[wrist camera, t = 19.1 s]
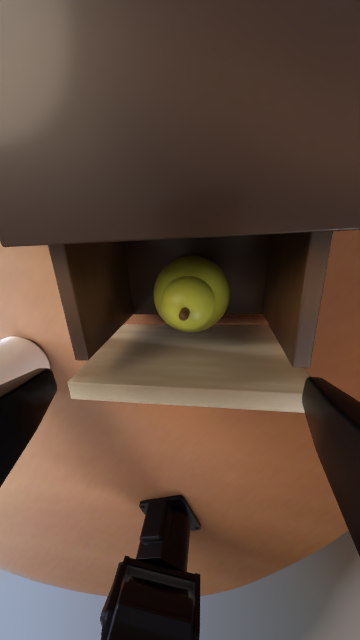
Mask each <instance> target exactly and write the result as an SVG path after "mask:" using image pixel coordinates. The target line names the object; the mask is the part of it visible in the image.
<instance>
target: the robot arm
mask: <svg viewBox="0 0 360 640" xmlns="http://www.w3.org/2000/svg"><path fill="white" fill-rule="evenodd" d="M56 391H57V384H56V381H55V378H54V375H53V372H52V370H51V369H49V368H38V369H35V370H33V371H31V372H28V373H26V374H24V375H22V376H19V377H17V378H15V379H12V380H10V381H8V382H6V383H3V384H1V385H0V487H1V485H2V484H3V482H4V481H5V479H6V477H7V476H8V474H9V473H10V471H11V470H12V468H13V466H14V465H15V463H16V462H17V460H18V459H19V457H20V455H21V454H22V452H23V451H24V449H25V448H26V446H27V444H28V443H29V441H30V440H31V438H32V437H33V435H34V433H35V432H36V430H37V428H38V426H39V424H40V423H41V421H42V419H43V417H44V415H45V413H46V411H47V409H48V407H49V405H50V403H51V401H52V399H53V397H54V395H55V394H56ZM302 404H303V408H304V411H305V415H306V418H307V422H308V425H309V428H310V432H311V435H312V439H313V442H314V445H315V448H316V451H317V454H318V457H319V459H320V462H321V464H322V466H323V469H324V471H325V474H326V476H327V478H328V481H329V483H330V486H331V488H332V491H333V493H334V495H335V498H336V500H337V503H338V505H339V508H340V510H341V512H342V515H343V517H344V520H345V522H346V524H347V527H348V529H349V532H350V534H351V537H352V539H353V541H354V544H355V546H356V549H357V551H358V554H359V556H360V402H359V401H357V400H356V399H354V398H353V397H351V396H349V395H348V394H346V393H345V392H343V391H342V390H340V389H338V388H337V387H335V386H334V385H332V384H330V383H329V382H327V381H326V380H324V379H322V378H320V377H308V378H306V380H305V384H304V389H303V394H302ZM139 507H140V508H141V510H142V511H143V512H144V514H145V520H144V524H143V528H142V532H141V536H140V544H139V548H138V553H137V557H136V559H132V558H130V557H129V556H125V558H124V561H123V562H120V563H119V565H118V569H117V572H116V575H115V579H114V582H113V585H112V587H111V590H110V592H109V595H108V597H107V600H106V603H105V605H104V608H103V610H102V613H101V617H100V621H101V625H102V633H101V636H102V637H101V640H199V633H200V574H197V573H195V574H192V573H188V572H187V562H188V550H189V538H190V531H196V530H200V529H201V524H200V523H199V521H198V519H197V518H196V516H195V515H194V513H193V511H192V510H191V508H190V507H189V505H188V503H187V502H186V500H185V499H184V497H183V496H181V495H177V496H170V497H164V498H158V499H151V500H145V501H141V502H140V505H139Z"/></svg>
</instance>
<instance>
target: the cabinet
mask: <svg viewBox="0 0 360 640" xmlns="http://www.w3.org/2000/svg"><path fill="white" fill-rule="evenodd" d="M347 230H360V0H0V241H1V245H2V246H3V247H17V246H38V245H58V244H79V243H100V242H120V241H141V240H161V239H182V238H202V237H223V236H244V235H264V234H285V233H305V232H326V231H347Z"/></svg>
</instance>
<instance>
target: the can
mask: <svg viewBox="0 0 360 640" xmlns="http://www.w3.org/2000/svg"><path fill="white" fill-rule="evenodd" d="M38 368H49V369H50V362H49V359H48V357H47V355H46V354H45V352H44V351H43V350H42V349H41V348H40V347H39V346H38V345H37V344H35V343H34V342H32V341H30V340H28V339H25V338H21V337H7V338H4V339H2V340H0V385H1V384H3V383H6V382H8V381H10V380H12V379H15V378H17V377H19V376H22V375H24V374H26V373H28V372H31V371H33V370H35V369H38Z"/></svg>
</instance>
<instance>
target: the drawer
mask: <svg viewBox="0 0 360 640" xmlns="http://www.w3.org/2000/svg"><path fill="white" fill-rule="evenodd" d="M332 234H333V231H326V232H305V233H285V234H264V235H244V236H223V237H202V238H182V239H161V240H141V241H120V242H100V243H79V244H58V245H48V247H49V251H50V255H51V259H52V264H53V268H54V272H55V276H56V280H57V284H58V289H59V293H60V297H61V301H62V305H63V309H64V314H65V318H66V322H67V326H68V330H69V334H70V338H71V343H72V347H73V351H74V355H75V359H76V360H89V359H90V360H89V361H88V362H87V363H86V364H85V365H84V366H83V367H82V368H81V369H80V370H79V371H78V372H77V373H76V374H75V375H74V376H73V377H72V378H71V379H70V380H69V381H68V387H69V391H70V395H71V398H72V399H80V400H97V401H113V402H130V403H147V404H164V405H181V406H198V407H214V408H231V409H248V410H265V411H282V412H298V413H305V411H304V408H303V404H302V394H303V389H304V384H305V380H306V378H308V377H311V376H310V375H309V373H308V372H307V370H306V369H305V368H309V367H310V361H311V355H312V350H313V344H314V338H315V332H316V327H317V321H318V315H319V309H320V303H321V298H322V292H323V286H324V280H325V274H326V269H327V263H328V257H329V251H330V245H331V240H332ZM184 256H200V257H204V258H206V259H209V260H211V261H212V262H214V263H215V264H216V265H217V266H218V267H219V268H220V269H221V270H222V271H223V273H224V274H225V276H226V278H227V281H228V284H229V289H230V298H229V304H228V307H227V309H226V311H225V313H224V314H263V315H264V317H265V319H266V321H267V323H268V324H269V325H213V326H212V327H210V328H208V329H206V330H203V331H200V332H184V331H180V330H177V329H175V328H173V327H171V326H170V325H161V324H124V323H125V322H126V321H127V320H128V319H129V318H130V317H131V316H132V315H133V314H159V313H158V311H157V309H156V306H155V303H154V296H153V292H154V285H155V282H156V279H157V277H158V275H159V273H160V272H161V271H162V269H163V268H164V267H165V266H166V265H167V264H169V263H170V262H171V261H173V260H175V259H177V258H180V257H184ZM119 328H120V329H119ZM118 329H119V330H118ZM117 330H118V331H117ZM116 331H117V332H116Z"/></svg>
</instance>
